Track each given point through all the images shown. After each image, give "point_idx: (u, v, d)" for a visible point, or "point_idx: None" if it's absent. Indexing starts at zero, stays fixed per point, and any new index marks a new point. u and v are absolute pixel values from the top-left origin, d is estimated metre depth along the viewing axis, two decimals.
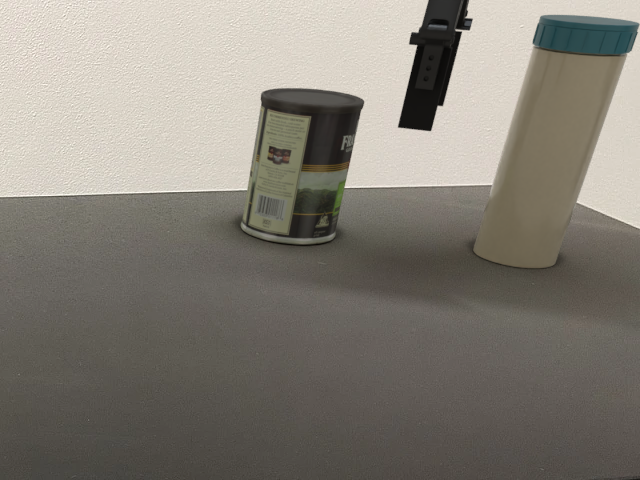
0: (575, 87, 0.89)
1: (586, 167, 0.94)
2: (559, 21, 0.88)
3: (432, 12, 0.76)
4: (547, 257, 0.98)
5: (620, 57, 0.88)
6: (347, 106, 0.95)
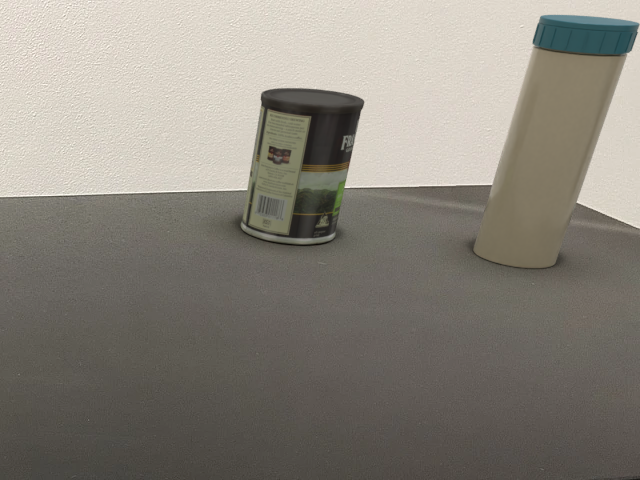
0: (575, 87, 0.89)
1: (586, 167, 0.94)
2: (559, 21, 0.88)
3: None
4: (547, 257, 0.98)
5: (620, 57, 0.88)
6: (347, 106, 0.95)
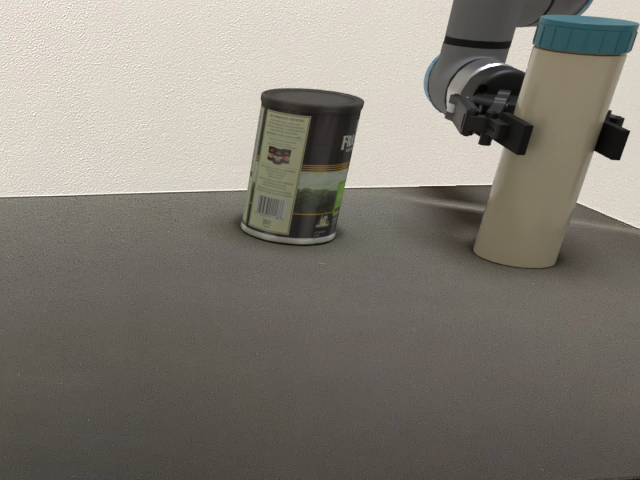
0: (575, 87, 0.89)
1: (586, 167, 0.94)
2: (559, 21, 0.88)
3: (459, 126, 0.99)
4: (547, 257, 0.98)
5: (620, 57, 0.88)
6: (347, 106, 0.95)
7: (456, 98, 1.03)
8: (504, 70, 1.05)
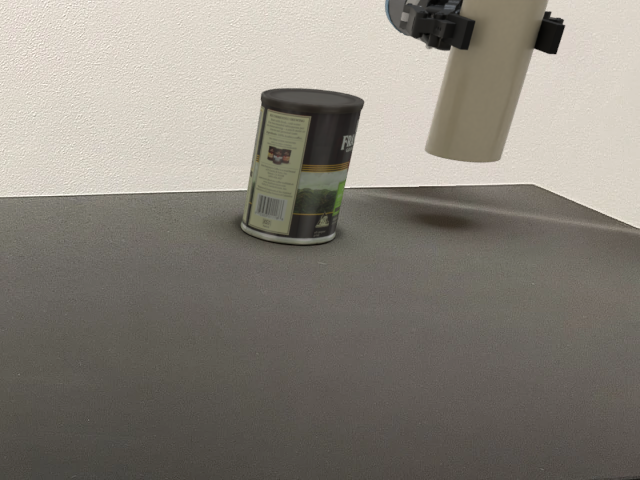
0: None
1: (526, 63, 1.00)
2: None
3: (410, 29, 1.06)
4: (492, 152, 1.04)
5: None
6: (347, 106, 0.95)
7: (409, 7, 1.10)
8: None
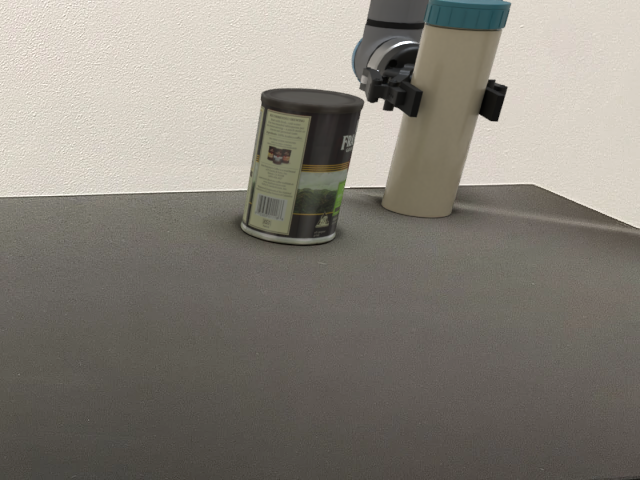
0: (457, 57, 1.04)
1: (471, 128, 1.09)
2: (442, 1, 1.03)
3: (367, 94, 1.14)
4: (442, 208, 1.12)
5: (494, 32, 1.03)
6: (347, 106, 0.95)
7: (367, 71, 1.18)
8: (411, 47, 1.20)
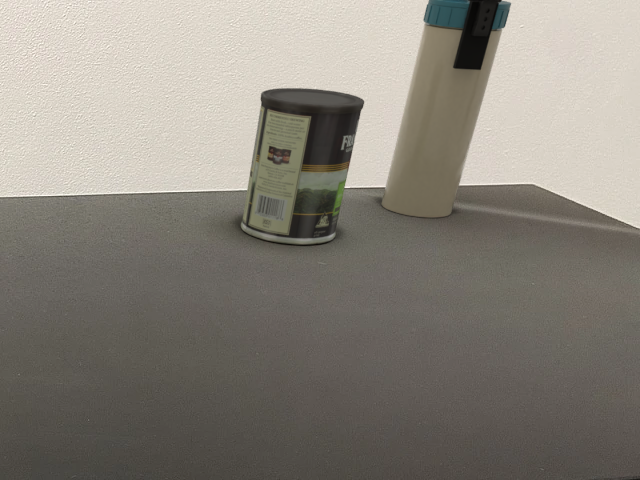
0: None
1: (471, 128, 1.09)
2: (442, 1, 1.03)
3: None
4: (442, 208, 1.12)
5: (494, 32, 1.03)
6: (347, 106, 0.95)
7: None
8: None
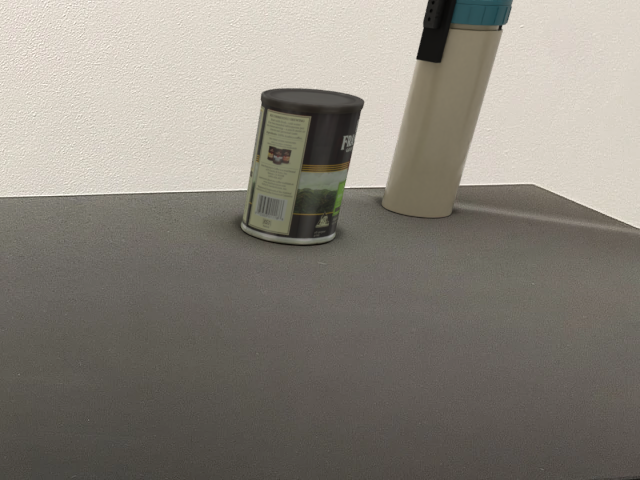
0: (458, 57, 1.04)
1: (472, 128, 1.09)
2: (512, 0, 1.03)
3: None
4: (442, 208, 1.12)
5: (496, 32, 1.03)
6: (347, 106, 0.95)
7: None
8: None
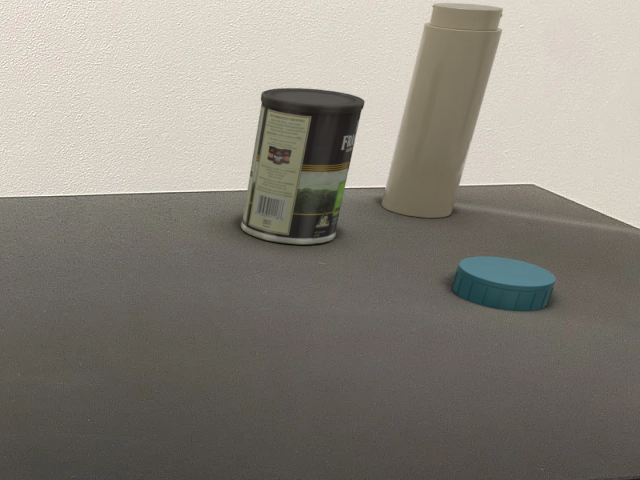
0: (458, 58, 1.04)
1: (472, 128, 1.09)
2: (536, 266, 0.91)
3: None
4: (442, 208, 1.12)
5: (495, 32, 1.03)
6: (347, 106, 0.95)
7: None
8: None
